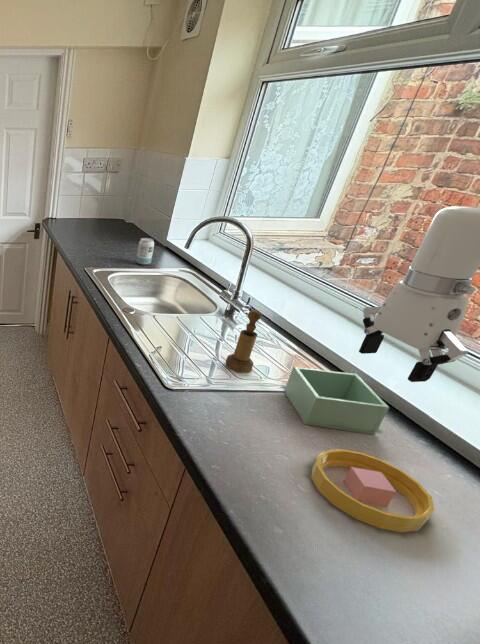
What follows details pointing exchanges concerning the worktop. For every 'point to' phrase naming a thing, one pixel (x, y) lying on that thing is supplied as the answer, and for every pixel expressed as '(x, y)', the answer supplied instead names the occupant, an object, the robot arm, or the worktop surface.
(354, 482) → the pink toy cube
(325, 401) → the bin
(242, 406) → the worktop surface
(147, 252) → the beverage can
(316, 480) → the yellow bangle
